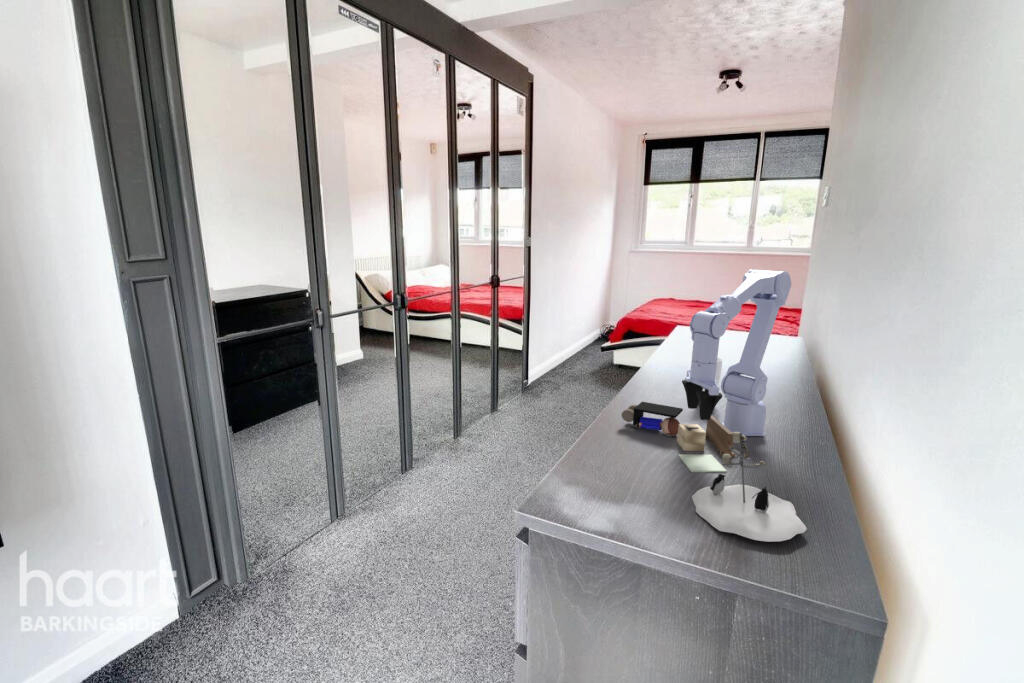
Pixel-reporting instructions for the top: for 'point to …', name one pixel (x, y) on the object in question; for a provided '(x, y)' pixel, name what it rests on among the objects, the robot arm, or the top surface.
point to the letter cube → (691, 437)
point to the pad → (701, 463)
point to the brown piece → (719, 436)
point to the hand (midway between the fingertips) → (698, 413)
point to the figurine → (746, 506)
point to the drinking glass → (717, 371)
